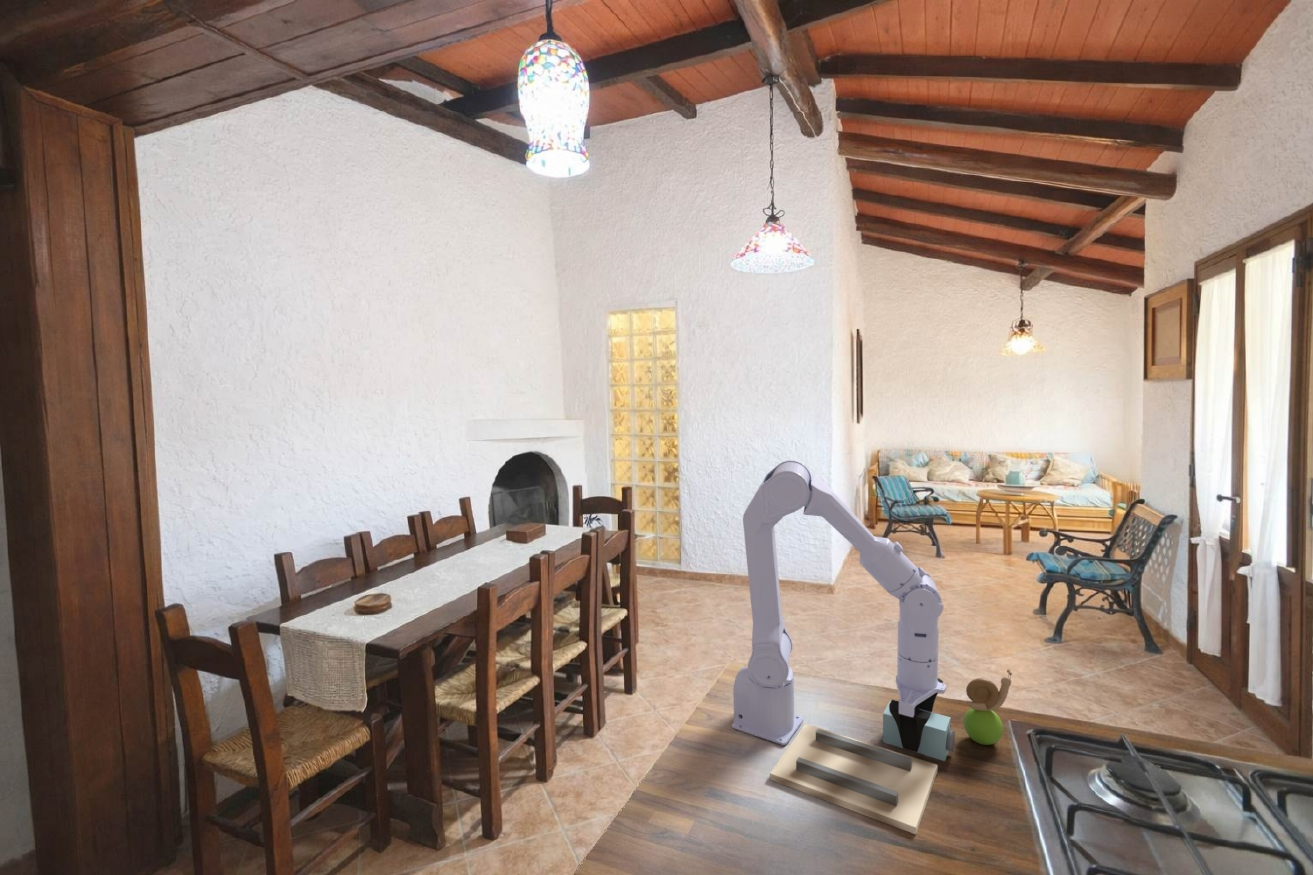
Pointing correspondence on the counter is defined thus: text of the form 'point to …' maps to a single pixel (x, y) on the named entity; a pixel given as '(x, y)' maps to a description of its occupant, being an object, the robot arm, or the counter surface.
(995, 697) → the snail figurine
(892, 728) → the pale blue tall carton
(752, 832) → the counter surface
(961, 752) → the counter surface
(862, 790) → the jig board
